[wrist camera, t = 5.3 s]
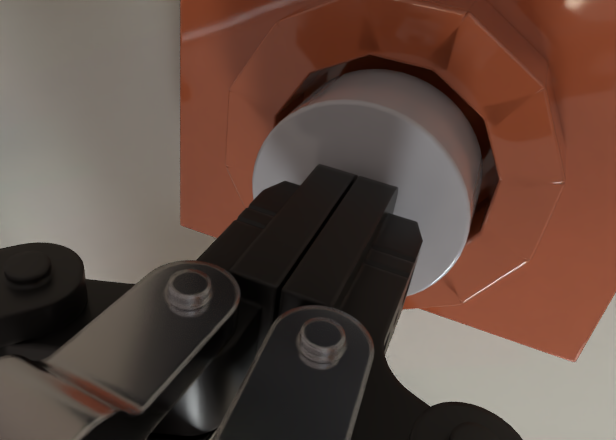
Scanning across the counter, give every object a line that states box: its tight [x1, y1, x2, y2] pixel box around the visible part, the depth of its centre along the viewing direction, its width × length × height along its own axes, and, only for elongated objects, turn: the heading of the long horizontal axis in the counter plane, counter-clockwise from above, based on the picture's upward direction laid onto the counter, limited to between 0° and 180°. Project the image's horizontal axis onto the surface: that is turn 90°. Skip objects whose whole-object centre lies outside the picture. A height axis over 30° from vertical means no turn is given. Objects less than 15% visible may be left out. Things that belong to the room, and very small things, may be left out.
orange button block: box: [180, 0, 616, 362], centre depth 14 cm, size 12×10×4 cm
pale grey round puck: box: [252, 69, 483, 297], centre depth 12 cm, size 4×4×2 cm
